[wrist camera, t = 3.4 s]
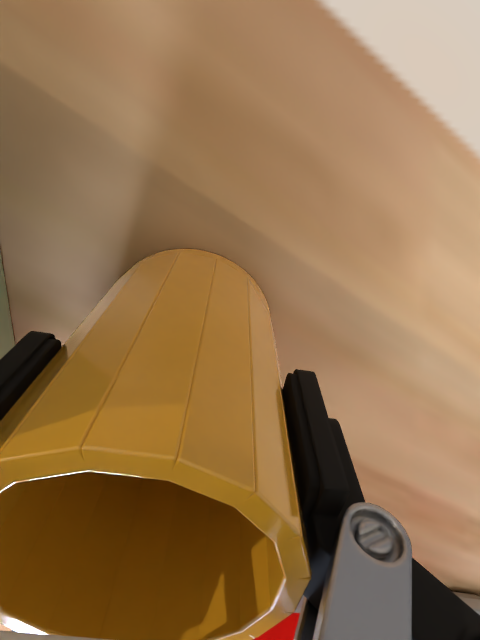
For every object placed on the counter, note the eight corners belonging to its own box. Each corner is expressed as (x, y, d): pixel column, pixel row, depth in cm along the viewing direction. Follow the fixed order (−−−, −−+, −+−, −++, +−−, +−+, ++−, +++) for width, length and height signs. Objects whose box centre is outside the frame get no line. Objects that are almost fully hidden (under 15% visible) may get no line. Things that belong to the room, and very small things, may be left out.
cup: (109, 234, 12) (-131, 421, 4) (287, 264, 13) (362, 481, 5) (109, 378, 15) (-33, 645, 7) (254, 398, 16) (267, 668, 8)
